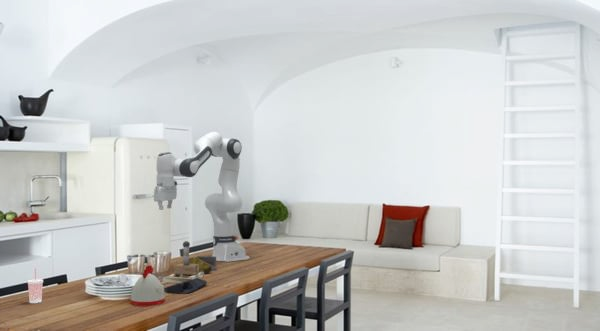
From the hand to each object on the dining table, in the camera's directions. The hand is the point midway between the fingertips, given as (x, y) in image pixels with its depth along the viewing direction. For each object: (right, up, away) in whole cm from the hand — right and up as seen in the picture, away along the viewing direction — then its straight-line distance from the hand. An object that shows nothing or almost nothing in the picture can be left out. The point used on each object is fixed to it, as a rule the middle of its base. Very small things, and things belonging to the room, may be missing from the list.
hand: (165, 209), depth 327 cm
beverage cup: (-39, -34, -70) cm, 87 cm away
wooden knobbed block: (+15, -32, -20) cm, 41 cm away
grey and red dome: (+8, -34, -70) cm, 79 cm away
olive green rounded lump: (+19, -33, -5) cm, 38 cm away
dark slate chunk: (+19, -34, -44) cm, 59 cm away
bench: (+17, -33, -13) cm, 39 cm away
